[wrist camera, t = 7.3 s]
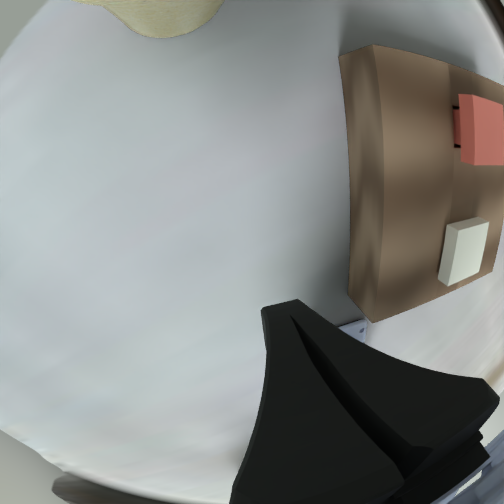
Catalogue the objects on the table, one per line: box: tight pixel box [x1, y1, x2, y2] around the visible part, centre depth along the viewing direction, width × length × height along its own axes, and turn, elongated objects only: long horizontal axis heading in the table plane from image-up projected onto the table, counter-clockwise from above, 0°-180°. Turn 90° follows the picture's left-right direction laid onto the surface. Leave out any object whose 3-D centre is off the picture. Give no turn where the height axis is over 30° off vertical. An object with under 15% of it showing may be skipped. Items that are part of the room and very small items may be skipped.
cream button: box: [438, 217, 489, 286], centre depth 19 cm, size 4×4×5 cm
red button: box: [453, 94, 504, 165], centre depth 14 cm, size 4×4×5 cm
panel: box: [339, 44, 504, 323], centre depth 18 cm, size 18×16×4 cm
